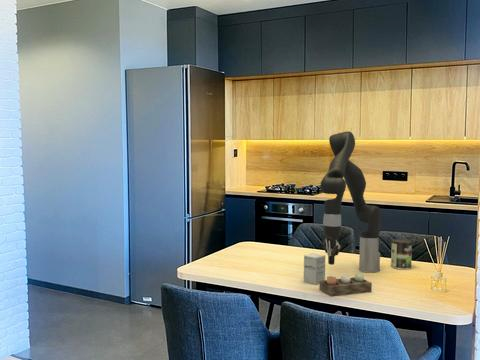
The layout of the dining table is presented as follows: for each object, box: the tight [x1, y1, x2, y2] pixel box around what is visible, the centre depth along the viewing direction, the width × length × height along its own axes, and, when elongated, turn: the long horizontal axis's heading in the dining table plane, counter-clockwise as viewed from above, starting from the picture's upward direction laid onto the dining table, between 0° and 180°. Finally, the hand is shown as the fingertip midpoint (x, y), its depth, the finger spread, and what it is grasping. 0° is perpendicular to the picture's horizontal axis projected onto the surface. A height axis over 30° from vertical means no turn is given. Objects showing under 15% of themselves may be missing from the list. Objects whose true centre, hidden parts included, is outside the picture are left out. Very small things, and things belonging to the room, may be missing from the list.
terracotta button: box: [326, 275, 337, 286], centre depth 206 cm, size 4×4×3 cm
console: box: [318, 276, 373, 297], centre depth 209 cm, size 20×10×4 cm, turn 110°
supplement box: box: [303, 252, 326, 285], centre depth 222 cm, size 7×7×13 cm
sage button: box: [354, 273, 365, 282], centre depth 211 cm, size 4×4×3 cm
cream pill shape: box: [340, 274, 351, 284], centre depth 208 cm, size 4×4×3 cm
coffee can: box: [390, 238, 413, 271], centre depth 249 cm, size 10×10×14 cm
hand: (331, 264), depth 205 cm, fingers closed
